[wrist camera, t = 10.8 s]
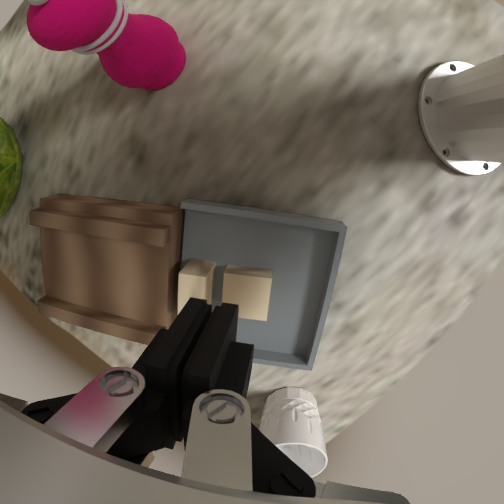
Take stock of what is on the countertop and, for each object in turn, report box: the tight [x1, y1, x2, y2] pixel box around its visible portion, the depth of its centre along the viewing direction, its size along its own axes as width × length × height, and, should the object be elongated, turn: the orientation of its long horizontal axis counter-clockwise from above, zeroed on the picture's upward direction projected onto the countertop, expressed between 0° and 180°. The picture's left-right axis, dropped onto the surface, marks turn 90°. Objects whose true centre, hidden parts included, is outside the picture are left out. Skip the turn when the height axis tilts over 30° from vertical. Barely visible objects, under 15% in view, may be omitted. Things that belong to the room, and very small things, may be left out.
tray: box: [180, 199, 347, 370], centre depth 32 cm, size 15×16×2 cm
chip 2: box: [222, 264, 273, 321], centre depth 32 cm, size 4×4×2 cm
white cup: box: [259, 387, 328, 478], centre depth 33 cm, size 8×8×10 cm
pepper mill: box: [27, 0, 186, 90], centre depth 18 cm, size 7×7×20 cm
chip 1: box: [178, 258, 216, 314], centre depth 31 cm, size 4×4×2 cm
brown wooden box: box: [30, 194, 184, 345], centre depth 32 cm, size 16×14×6 cm
